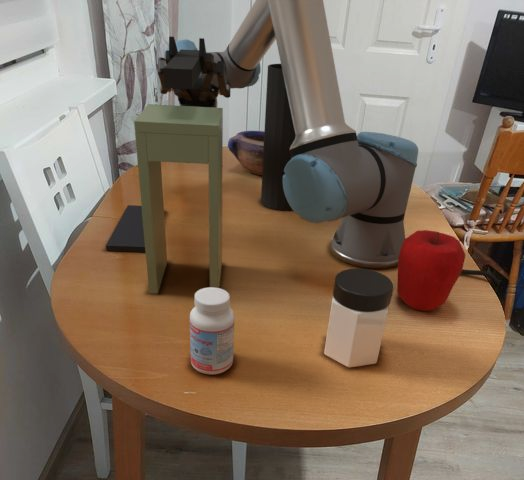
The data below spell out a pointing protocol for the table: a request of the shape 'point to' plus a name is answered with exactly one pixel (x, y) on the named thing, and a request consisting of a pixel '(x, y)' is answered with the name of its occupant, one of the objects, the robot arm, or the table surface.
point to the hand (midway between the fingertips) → (186, 46)
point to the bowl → (248, 150)
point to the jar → (358, 316)
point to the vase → (276, 140)
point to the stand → (182, 151)
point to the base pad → (128, 232)
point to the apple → (428, 269)
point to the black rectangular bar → (182, 70)
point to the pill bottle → (211, 331)
